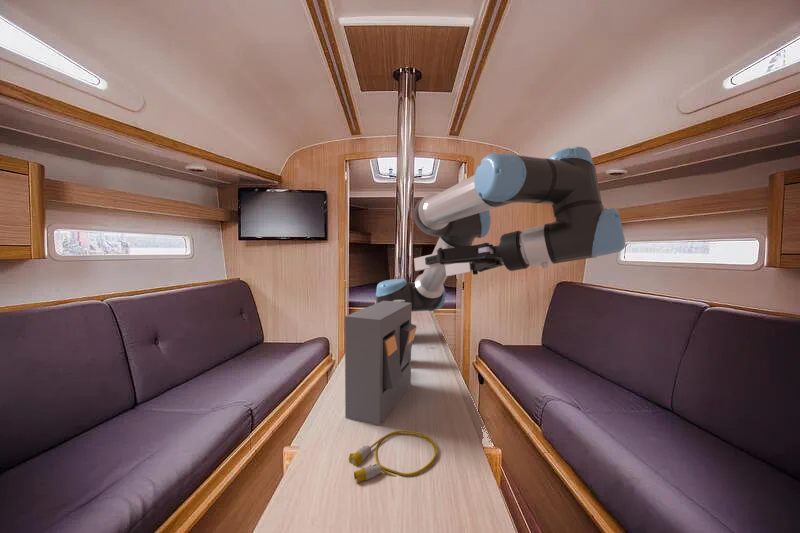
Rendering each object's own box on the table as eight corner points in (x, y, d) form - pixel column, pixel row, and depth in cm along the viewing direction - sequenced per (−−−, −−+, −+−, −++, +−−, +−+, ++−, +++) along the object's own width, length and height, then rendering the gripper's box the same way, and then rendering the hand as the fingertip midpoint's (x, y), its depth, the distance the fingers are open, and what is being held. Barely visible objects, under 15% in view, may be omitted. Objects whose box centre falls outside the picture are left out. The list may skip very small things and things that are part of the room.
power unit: (383, 379, 85) (383, 300, 83) (410, 384, 82) (411, 302, 80) (345, 417, 66) (345, 316, 64) (379, 425, 63) (379, 319, 62)
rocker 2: (401, 359, 80) (409, 323, 79) (409, 362, 79) (417, 325, 78) (392, 367, 74) (400, 329, 73) (401, 371, 74) (409, 331, 72)
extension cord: (350, 438, 60) (350, 428, 59) (430, 434, 61) (430, 424, 61) (346, 488, 48) (346, 475, 47) (446, 480, 49) (446, 468, 49)
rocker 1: (394, 377, 70) (386, 334, 70) (403, 377, 69) (395, 333, 69) (383, 388, 64) (374, 341, 65) (393, 388, 64) (384, 340, 64)
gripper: (507, 259, 49) (400, 279, 61) (544, 273, 68) (458, 286, 81) (500, 215, 50) (398, 243, 63) (538, 241, 70) (455, 259, 82)
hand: (431, 268), depth 72 cm, fingers open, 13 cm apart
